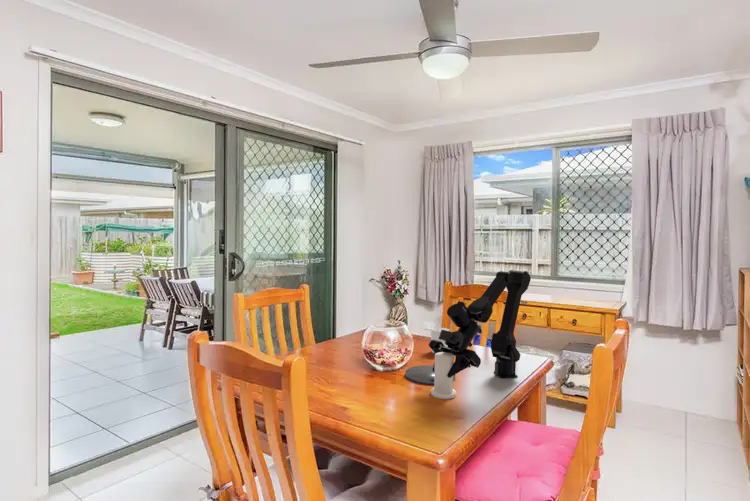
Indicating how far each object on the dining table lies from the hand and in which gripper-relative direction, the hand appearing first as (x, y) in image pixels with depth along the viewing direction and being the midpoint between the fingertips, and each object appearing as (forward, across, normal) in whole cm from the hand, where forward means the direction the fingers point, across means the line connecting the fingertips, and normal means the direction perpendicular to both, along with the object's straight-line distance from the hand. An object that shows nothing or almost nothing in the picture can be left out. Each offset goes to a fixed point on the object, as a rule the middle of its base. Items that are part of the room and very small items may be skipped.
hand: (440, 374), depth 143 cm
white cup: (-21, -36, +31) cm, 52 cm away
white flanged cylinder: (+4, 0, +6) cm, 7 cm away
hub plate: (-3, -15, +13) cm, 20 cm away
